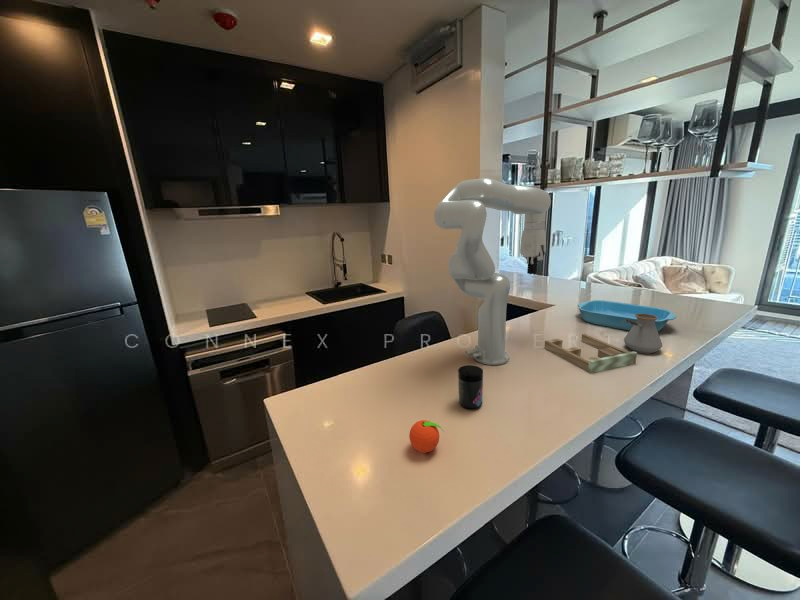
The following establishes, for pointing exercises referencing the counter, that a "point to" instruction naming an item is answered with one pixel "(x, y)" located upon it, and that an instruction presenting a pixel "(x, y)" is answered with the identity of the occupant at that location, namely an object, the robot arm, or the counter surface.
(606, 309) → the casserole dish
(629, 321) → the coffee pot
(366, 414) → the counter surface
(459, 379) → the supplement container
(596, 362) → the trap box
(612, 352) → the walnut block
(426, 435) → the clementine
